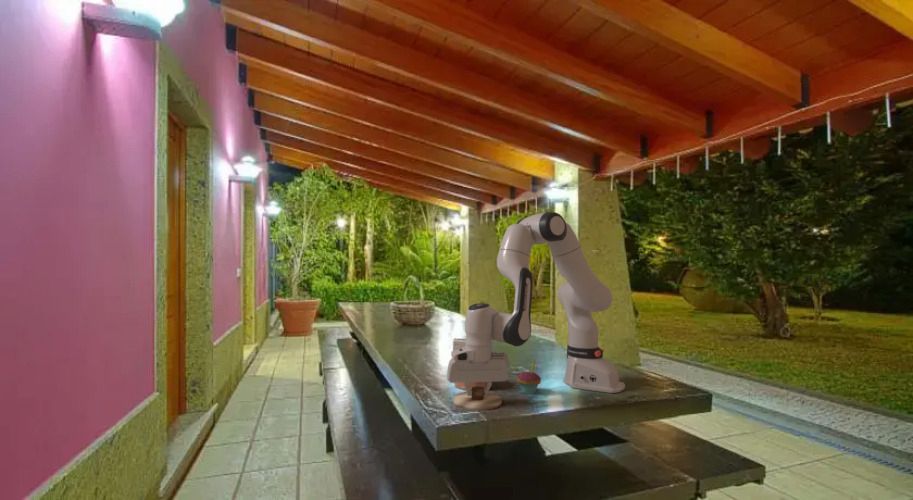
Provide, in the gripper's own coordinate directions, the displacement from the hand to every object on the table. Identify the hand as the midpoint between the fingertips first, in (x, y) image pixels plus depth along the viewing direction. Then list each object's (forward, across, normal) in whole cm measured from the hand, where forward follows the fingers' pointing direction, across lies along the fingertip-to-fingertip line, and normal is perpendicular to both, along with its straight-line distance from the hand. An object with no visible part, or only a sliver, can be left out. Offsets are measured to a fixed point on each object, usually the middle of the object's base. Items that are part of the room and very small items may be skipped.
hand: (477, 395), depth 152 cm
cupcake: (+2, -20, -9) cm, 23 cm away
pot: (+2, -2, -19) cm, 19 cm away
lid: (+2, 0, 0) cm, 2 cm away
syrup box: (+2, 0, -34) cm, 34 cm away
